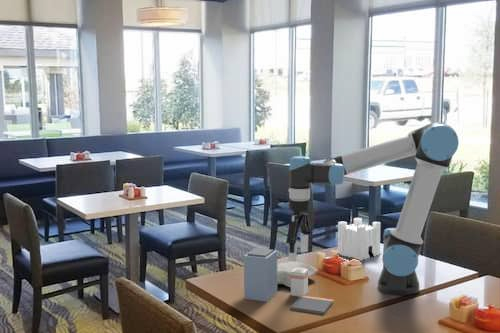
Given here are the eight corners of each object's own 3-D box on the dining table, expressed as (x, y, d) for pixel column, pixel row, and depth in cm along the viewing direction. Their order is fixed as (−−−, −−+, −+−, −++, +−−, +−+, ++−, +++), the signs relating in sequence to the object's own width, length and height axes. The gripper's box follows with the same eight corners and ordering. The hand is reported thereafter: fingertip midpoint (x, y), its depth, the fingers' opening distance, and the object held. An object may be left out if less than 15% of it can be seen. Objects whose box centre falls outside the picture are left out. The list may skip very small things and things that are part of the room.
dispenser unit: (277, 292, 215) (277, 249, 213) (267, 301, 206) (267, 256, 204) (253, 289, 219) (252, 246, 217) (242, 298, 210) (242, 253, 208)
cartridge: (308, 292, 215) (308, 269, 214) (304, 297, 211) (304, 273, 210) (295, 290, 218) (295, 267, 216) (290, 295, 213) (290, 271, 212)
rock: (248, 265, 232) (306, 251, 238) (250, 282, 233) (308, 268, 240) (263, 282, 214) (325, 267, 220) (266, 300, 215) (327, 284, 222)
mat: (333, 302, 205) (333, 299, 205) (324, 314, 194) (324, 311, 194) (301, 298, 210) (301, 295, 210) (290, 309, 199) (290, 306, 199)
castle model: (356, 248, 274) (357, 217, 272) (381, 254, 264) (381, 222, 262) (336, 254, 265) (336, 222, 263) (361, 260, 254) (361, 227, 252)
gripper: (300, 192, 222) (299, 246, 225) (277, 204, 199) (277, 264, 202) (319, 194, 219) (318, 248, 222) (298, 206, 197) (297, 266, 199)
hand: (298, 256), depth 212 cm, fingers open, 13 cm apart
